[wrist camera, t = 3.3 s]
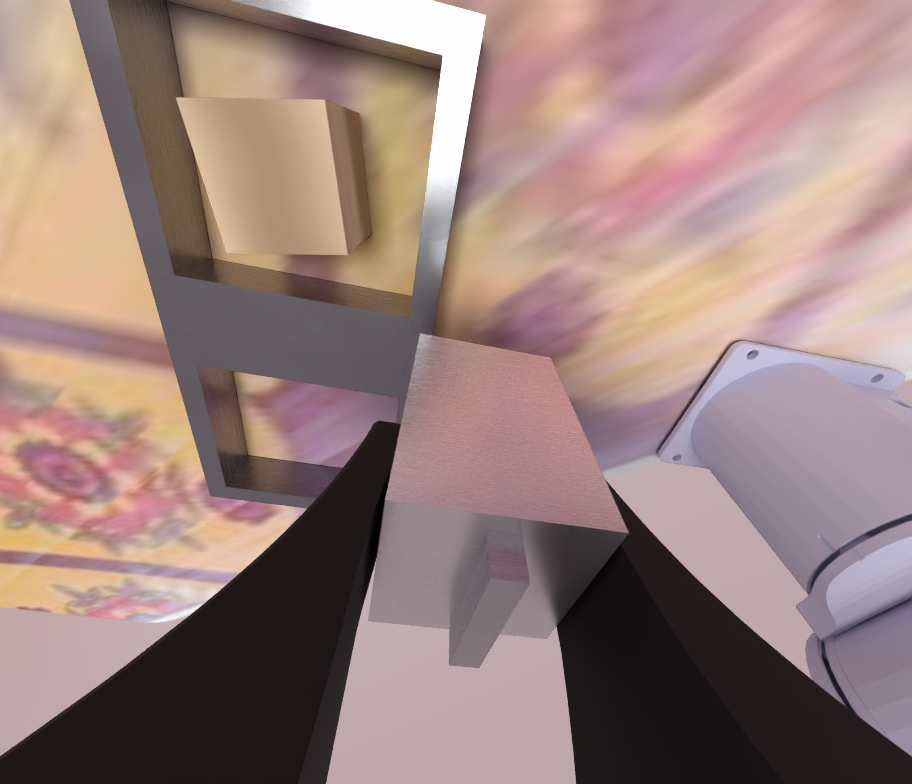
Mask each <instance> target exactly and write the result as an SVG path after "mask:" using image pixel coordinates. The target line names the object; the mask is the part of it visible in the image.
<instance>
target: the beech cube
mask: <svg viewBox="0 0 912 784" xmlns="http://www.w3.org/2000/svg"><path fill="white" fill-rule="evenodd" d="M176 100H177V103H178V106H179V109H180V112H181V115H182V118H183V121H184V124H185V127H186V130H187V133H188V136H189V139H190V142H191V145H192V148H193V152H194V155H195V158H196V161H197V164H198V167H199V170H200V173H201V176H202V179H203V182H204V185H205V188H206V191H207V194H208V197H209V200H210V203H211V206H212V209H213V213H214V216H215V219H216V222H217V225H218V228H219V231H220V234H221V237H222V240H223V243H224V246H225V249H226V252H227V253H243V254H306V255H348V254H350V253H351V252H352V251H353V250H354V249H355V248H356V247H357V246H358V245H359V244H360V243H362V242H363V241H364V240H365V239H366V238H367V237H368V236H369V235H370V234H371V233H372V229H371V220H370V211H369V201H368V192H367V183H366V174H365V165H364V156H363V146H362V137H361V128H360V119H359V113H357V112H355V111H352V110H350V109H347V108H345V107H342V106H339V105H337V104H334V103H332V102H329V101H327V100H308V99H245V98H182V97H176Z"/></svg>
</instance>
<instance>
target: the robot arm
mask: <svg viewBox="0 0 912 784" xmlns="http://www.w3.org/2000/svg"><path fill="white" fill-rule="evenodd" d="M750 351H752V353H751V354H749V355H747V354H748V353H749V352H750ZM904 380H905V374H903V373H901V372H899V371H897V370H893V369H888V368H883V367H878V366H873V365H867V364H862V363H857V362H852V361H847V360H842V359H837V358H831V357H826V356H821V355H816V354H811V353H806V352H800V351H795V350H790V349H785V348H780V347H775V346H769V345H764V344H759V343H754V342H749V341H739V342H736V343H735V344H733V345H732V346H731V347H730V348H729V350H728V351H727V352H726V354H725V355H724V357H723V358H722V360H721V361H720V363H719V364H718V366H717V367H716V368H715V370H714V371H713V373H712V374H711V376H710V377H709V379H708V380H707V382H706V383H705V385H704V386H703V387H702V389H701V390H700V392H699V393H698V395H697V396H696V398H695V399H694V401H693V402H692V403H691V405H690V406H689V408H688V409H687V411H686V412H685V414H684V415H683V417H682V418H681V419H680V421H679V422H678V424H677V425H676V427H675V428H674V430H673V431H672V433H671V434H670V435H669V437H668V438H667V440H666V441H665V443H664V444H663V446H662V447H661V449H660V450H659V452H658V457H659V458H660V460H661V461H663V462H668V463H675V464H681V465H689V466H695V467H701V468H707V469H709V470H710V471H711V472H712V473H713V475H714V476H715V477H716V478H717V480H718V481H719V482H720V484H721V485H722V486H723V487H724V489H725V490H726V491H727V492H728V494H729V495H730V496H731V498H732V499H733V500H734V501H735V503H736V504H737V505H738V506H739V508H740V509H741V510H742V511H743V513H744V514H745V515H746V517H747V518H748V519H749V520H750V521H751V522H752V524H753V525H754V527H755V528H756V529H757V531H758V532H759V533H760V534H761V535H762V537H763V538H764V539H765V541H766V542H767V543H768V544H769V546H770V547H771V548H772V550H773V551H774V552H775V553H776V554H777V556H778V557H779V558H780V560H781V561H782V562H783V563H784V565H785V566H786V567H787V569H788V570H789V571H790V572H791V574H792V575H793V576H794V577H795V579H796V580H797V581H798V582H799V584H800V585H801V586H802V587H803V589H804V590H805V591H806V593H807V594H808V597H807V598H805V599H804V600H803V601H802V602H800V603H799V604H797V605H796V608H797V609H798V611H799V612H800V613H801V615H802V616H803V618H804V619H805V620H806V622H807V623H808V624H809V625H810V627H811V628H812V630H813V631H814V633H812V634H811V636H810V637H809V638H808V640H807V642H806V648H805V651H806V660H807V664H808V668H809V671H810V674H811V677H812V680H811V679H810V678H809V677H808V676H806V675H805V674H804V673H803V672H802V671H800V670H799V669H798V668H797V667H795V666H794V665H793V664H792V663H791V662H790V661H788V660H787V659H786V658H785V657H784V656H782V655H781V654H780V653H779V652H778V651H777V650H775V649H774V648H773V647H772V646H771V645H769V644H768V643H767V642H766V641H765V640H763V639H762V638H761V637H760V636H759V635H758V634H756V633H755V632H754V631H753V630H752V629H751V628H750V627H748V626H747V625H746V624H745V623H744V622H743V621H741V620H740V619H739V618H738V617H737V616H736V615H735V614H734V613H733V612H732V611H731V610H729V609H728V608H727V607H726V606H725V605H724V604H723V603H722V602H721V601H720V600H719V599H718V598H717V597H715V596H714V595H713V594H712V593H711V592H710V591H709V590H708V589H707V588H706V587H705V586H704V585H703V584H701V583H700V582H699V581H698V580H697V579H696V578H695V577H694V576H693V575H692V574H691V573H690V572H689V571H688V570H687V569H686V568H685V567H684V566H683V565H682V564H681V563H680V562H679V560H677V558H676V557H675V556H674V555H673V554H672V553H671V552H670V551H669V550H668V549H667V548H666V547H665V546H664V545H663V544H662V543H661V542H660V541H659V540H658V539H657V538H656V536H655V535H654V534H653V533H652V532H651V531H650V530H649V529H648V528H647V527H646V526H645V525H644V524H643V522H642V521H641V520H640V519H639V518H638V517H637V516H636V514H635V513H634V512H633V511H632V510H631V509H630V508H629V507H628V505H627V504H626V503H625V502H624V501H623V500H622V499H621V498H620V496H619V495H618V494H617V493H616V492H615V490H614V489H613V488H612V487H611V486H610V485H609V483H608V482H607V481H606V480H605V481H606V483H607V485H608V487H609V490H610V492H611V494H612V496H613V499H614V501H615V503H616V505H617V507H618V510H619V512H620V514H621V516H622V519H623V521H624V523H625V525H626V528H627V530H628V532H629V534H628V535H627V536H626V538H625V539H624V540H623V541H622V543H621V544H620V545H619V547H618V548H617V549H616V550H615V552H614V553H613V554H612V556H611V557H610V558H609V559H608V561H607V562H606V563H605V565H604V566H603V567H602V568H601V570H600V571H599V572H598V574H597V575H596V576H595V577H594V579H593V580H592V581H591V582H590V584H589V585H588V586H587V588H586V589H585V590H584V591H583V593H582V594H581V595H580V597H579V598H578V599H577V600H576V602H575V603H574V604H573V606H572V607H571V608H570V609H569V611H568V612H567V613H566V615H565V616H564V617H563V618H562V620H561V621H560V622H559V623H558V625H557V631H558V636H559V641H560V647H561V653H562V660H563V667H564V675H565V683H566V690H567V697H568V707H569V716H570V725H571V734H572V743H573V751H574V763H575V774H576V784H912V403H910V402H908V401H906V400H905V399H903V398H901V397H900V396H898V395H896V394H894V393H892V392H893V391H894V390H895V389H896V388H897V387H898V386H900V385H901V384H902V382H903V381H904ZM400 426H401V424H397V423H391V422H384V421H377V422H376V423H374V424H373V426H372V428H371V430H370V431H369V433H368V434H367V436H366V438H365V439H364V441H363V442H362V444H361V445H360V446H359V448H358V449H357V450H356V452H355V453H354V455H353V456H352V457H351V459H350V460H349V461H348V462H347V464H346V465H345V466H344V467H343V468H342V470H341V471H340V472H339V473H338V475H337V476H336V477H335V478H334V480H333V481H332V482H331V483H330V484H329V485H328V487H327V488H326V489H325V490H324V491H323V492H322V493H321V494H320V495H319V496H318V498H317V499H316V500H315V501H314V502H313V503H312V504H311V505H310V506H309V507H308V508H307V510H306V511H305V512H304V513H303V514H302V515H301V516H300V517H299V518H298V519H297V520H296V521H295V522H294V523H293V524H292V525H291V526H290V527H289V528H288V529H287V530H286V531H285V532H284V533H283V534H282V535H281V536H280V537H279V538H278V539H277V540H276V541H275V542H274V543H273V544H271V545H270V546H269V547H268V548H267V549H266V550H265V551H264V552H263V553H262V554H261V555H260V556H259V557H258V558H256V559H255V560H254V561H253V562H252V563H251V564H250V565H249V566H247V567H246V568H245V569H244V570H243V571H242V572H241V573H239V574H238V575H237V576H236V577H235V578H234V579H233V580H231V581H230V582H229V583H228V584H227V585H226V586H225V587H224V588H222V589H221V590H220V591H219V592H218V593H216V594H215V595H214V596H213V597H212V598H210V599H209V600H208V601H207V602H206V603H204V604H203V605H202V606H201V607H200V608H198V609H197V610H196V611H195V612H193V613H192V614H191V615H190V616H188V617H187V618H186V619H185V620H183V621H182V622H181V623H180V624H178V625H177V626H176V627H174V628H173V629H172V630H170V631H169V632H168V633H167V634H165V635H164V636H163V637H162V638H160V639H159V640H158V641H156V642H155V643H154V644H153V645H151V646H150V647H149V648H147V649H146V650H145V651H144V652H142V653H141V654H140V655H139V656H137V657H136V658H135V659H133V660H132V661H131V662H130V663H128V664H127V665H126V666H124V667H123V668H122V669H120V670H119V671H118V672H116V673H115V674H114V675H113V676H111V677H110V678H109V679H107V680H106V681H105V682H103V683H102V684H100V685H99V686H98V687H96V688H95V689H93V690H92V691H91V692H89V693H88V694H86V695H85V696H84V697H82V698H81V699H79V700H78V701H77V702H75V703H74V704H72V705H71V706H70V707H68V708H67V709H65V710H64V711H63V712H61V713H60V714H58V715H57V716H56V717H54V718H53V719H52V720H50V721H49V722H47V723H46V724H45V725H43V726H42V727H40V728H39V729H38V730H36V731H35V732H33V733H32V734H31V735H29V736H28V737H26V738H25V739H24V740H23V741H21V742H20V743H18V744H17V745H16V746H14V747H12V748H11V749H10V750H8V751H7V752H5V753H4V754H3V755H1V756H0V784H326V781H327V775H328V770H329V765H330V760H331V755H332V750H333V745H334V740H335V735H336V730H337V725H338V720H339V715H340V710H341V704H342V700H343V695H344V690H345V685H346V680H347V675H348V670H349V665H350V660H351V656H352V650H353V646H354V641H355V636H356V631H357V627H358V623H359V619H360V615H361V611H362V607H363V604H364V600H365V597H366V593H367V590H368V586H369V583H370V579H371V576H372V572H373V569H374V565H375V561H376V558H377V554H378V547H379V540H380V533H381V526H382V519H383V511H384V504H385V498H386V493H387V489H388V484H389V479H390V474H391V469H392V465H393V460H394V455H395V450H396V446H397V441H398V436H399V431H400Z"/></svg>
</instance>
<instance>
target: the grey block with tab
mask: <svg viewBox="0 0 912 784" xmlns="http://www.w3.org/2000/svg"><path fill="white" fill-rule="evenodd" d="M628 534H629V532H628V530H627V528H626V525H625V523H624V521H623V519H622V516H621V514H620V512H619V510H618V507H617V505H616V503H615V501H614V499H613V496H612V494H611V492H610V490H609V487H608V485H607V483H606V481H605V478H604V476H603V474H602V472H601V469H600V467H599V465H598V463H597V460H596V458H595V456H594V454H593V451H592V449H591V447H590V445H589V442H588V440H587V438H586V436H585V433H584V431H583V429H582V427H581V424H580V422H579V420H578V418H577V416H576V413H575V411H574V409H573V407H572V404H571V402H570V400H569V398H568V395H567V393H566V391H565V389H564V386H563V384H562V382H561V380H560V377H559V375H558V373H557V371H556V368H555V366H554V364H553V362H552V359H551V358H549V357H544V356H539V355H533V354H528V353H523V352H517V351H512V350H507V349H501V348H496V347H491V346H485V345H480V344H475V343H469V342H464V341H459V340H453V339H448V338H443V337H437V336H432V335H427V334H421V333H420V336H419V341H418V345H417V350H416V355H415V360H414V364H413V369H412V374H411V379H410V384H409V388H408V393H407V398H406V403H405V407H404V412H403V417H402V422H401V426H400V431H399V436H398V441H397V446H396V450H395V455H394V460H393V465H392V469H391V474H390V479H389V484H388V489H387V493H386V498H385V504H384V511H383V519H382V526H381V533H380V540H379V547H378V554H377V561H376V569H375V575H374V583H373V590H372V597H371V604H370V611H369V619H368V621H372V622H383V623H393V624H403V625H413V626H424V627H433V628H443V629H450V637H449V638H450V639H449V640H450V641H449V665H452V666H463V667H474V668H479V667H480V666H481V664H482V662H483V661H484V659H485V657H486V656H487V654H488V652H489V651H490V649H491V647H492V646H493V644H494V642H495V641H496V639H497V637H498V636H499V634H504V635H514V636H524V637H534V638H544V639H546V638H547V637H548V636H549V635H550V634H551V632H552V631H553V630H554V628H555V627H556V626H557V625H558V623H559V622H560V621H561V620H562V618H563V617H564V616H565V615H566V613H567V612H568V611H569V609H570V608H571V607H572V606H573V604H574V603H575V602H576V600H577V599H578V598H579V597H580V595H581V594H582V593H583V591H584V590H585V589H586V588H587V586H588V585H589V584H590V582H591V581H592V580H593V579H594V577H595V576H596V575H597V574H598V572H599V571H600V570H601V568H602V567H603V566H604V565H605V563H606V562H607V561H608V559H609V558H610V557H611V556H612V554H613V553H614V552H615V550H616V549H617V548H618V547H619V545H620V544H621V543H622V541H623V540H624V539H625V538H626V536H627V535H628Z"/></svg>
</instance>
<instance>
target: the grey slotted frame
mask: <svg viewBox="0 0 912 784" xmlns="http://www.w3.org/2000/svg"><path fill="white" fill-rule="evenodd" d="M165 1H168V2H172V3H176V4H180V5H184V6H188V7H192V8H195V9H199V10H203V11H207V12H211V13H215V14H219V15H223V16H227V17H231V18H235V19H239V20H243V21H247V22H251V23H255V24H259V25H263V26H267V27H271V28H275V29H279V30H283V31H287V32H290V33H294V34H298V35H302V36H306V37H310V38H314V39H318V40H322V41H326V42H330V43H334V44H338V45H342V46H346V47H350V48H354V49H358V50H362V51H366V52H370V53H374V54H378V55H381V56H385V57H389V58H393V59H397V60H401V61H405V62H409V63H413V64H417V65H421V66H425V67H429V68H433V69H437V70H441V75H440V83H439V91H438V99H437V107H436V115H435V123H434V131H433V138H432V146H431V154H430V162H429V170H428V178H427V186H426V194H425V202H424V209H423V217H422V225H421V233H420V241H419V249H418V257H417V265H416V273H415V280H414V288H413V296H407V295H401V294H396V293H391V292H385V291H380V290H375V289H369V288H364V287H359V286H353V285H348V284H343V283H338V282H332V281H327V280H322V279H316V278H311V277H306V276H300V275H295V274H290V273H284V272H279V271H274V270H268V269H263V268H258V267H253V266H247V265H242V264H237V263H231V262H226V261H221V260H215V259H212V256H211V250H210V245H209V239H208V234H207V228H206V223H205V217H204V212H203V206H202V201H201V195H200V190H199V184H198V179H197V173H196V168H195V162H194V157H193V151H192V146H191V142H190V139H189V136H188V133H187V130H186V127H185V124H184V121H183V118H182V115H181V112H180V109H179V106H178V103H177V100H176V97H182V98H183V96H182V90H181V85H180V79H179V74H178V68H177V63H176V57H175V52H174V46H173V41H172V35H171V29H170V24H169V18H168V13H167V7H166V2H165ZM70 4H71V7H72V11H73V14H74V18H75V21H76V25H77V29H78V32H79V36H80V39H81V43H82V46H83V50H84V53H85V57H86V60H87V64H88V67H89V71H90V74H91V78H92V81H93V85H94V88H95V92H96V95H97V99H98V102H99V106H100V109H101V113H102V116H103V120H104V123H105V127H106V130H107V134H108V137H109V141H110V145H111V148H112V152H113V155H114V159H115V162H116V166H117V169H118V173H119V176H120V180H121V183H122V187H123V190H124V194H125V197H126V201H127V204H128V208H129V211H130V215H131V218H132V222H133V225H134V229H135V232H136V236H137V239H138V243H139V246H140V250H141V254H142V257H143V261H144V264H145V268H146V271H147V275H148V278H149V282H150V285H151V289H152V292H153V296H154V299H155V303H156V306H157V310H158V313H159V317H160V320H161V324H162V327H163V331H164V334H165V338H166V341H167V345H168V348H169V352H170V355H171V359H172V363H173V366H174V370H175V373H176V377H177V380H178V384H179V387H180V391H181V394H182V398H183V401H184V405H185V408H186V412H187V415H188V419H189V422H190V426H191V429H192V433H193V436H194V440H195V443H196V447H197V450H198V454H199V457H200V461H201V464H202V468H203V472H204V475H205V479H206V482H207V486H208V489H209V493H210V496H214V497H222V498H229V499H237V500H245V501H253V502H261V503H269V504H277V505H285V506H293V507H301V508H308V507H309V506H310V505H311V504H312V503H313V502H314V501H315V500H316V499H317V498H318V496H319V495H320V494H321V493H322V492H323V491H324V490H325V489H326V488H327V487H328V485H329V484H330V483H331V482H332V481H333V480H334V478H335V477H336V476H337V475H338V473H339V472H340V471H341V470H342V469H341V468H334V467H327V466H319V465H312V464H305V463H298V462H290V461H283V460H276V459H269V458H261V457H254V456H248V455H247V449H246V444H245V438H244V433H243V427H242V422H241V416H240V411H239V405H238V400H237V394H236V389H235V383H234V378H233V372H232V371H236V372H242V373H248V374H254V375H261V376H267V377H273V378H279V379H286V380H292V381H298V382H304V383H311V384H317V385H323V386H329V387H336V388H342V389H348V390H355V391H361V392H367V393H373V394H380V395H386V396H392V397H398V398H400V399H399V407H398V415H397V422H396V423H397V424H401V422H402V417H403V412H404V407H405V403H406V398H407V393H408V388H409V384H410V379H411V374H412V369H413V364H414V360H415V355H416V350H417V345H418V341H419V336H420V333H421V334H427V335H432V332H433V326H434V320H435V314H436V308H437V302H438V297H439V291H440V285H441V279H442V273H443V267H444V261H445V255H446V249H447V243H448V237H449V231H450V225H451V219H452V213H453V207H454V201H455V195H456V189H457V184H458V178H459V172H460V166H461V160H462V154H463V148H464V142H465V136H466V130H467V124H468V118H469V112H470V106H471V100H472V94H473V88H474V82H475V76H476V71H477V65H478V59H479V53H480V47H481V41H482V35H483V29H484V23H485V17H486V15H483V14H479V13H476V12H472V11H468V10H464V9H461V8H457V7H453V6H450V5H446V4H442V3H439V2H435V1H431V0H70Z"/></svg>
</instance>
